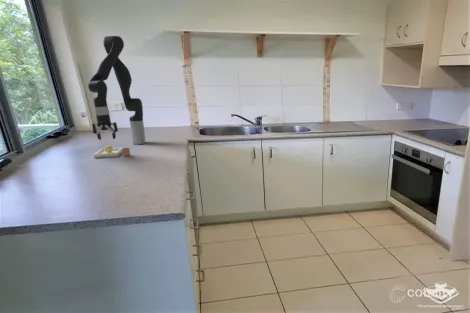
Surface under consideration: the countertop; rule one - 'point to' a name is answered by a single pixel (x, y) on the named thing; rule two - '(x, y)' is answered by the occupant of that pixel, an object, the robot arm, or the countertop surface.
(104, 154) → the tray
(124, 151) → the cup
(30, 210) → the countertop surface
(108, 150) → the ball
